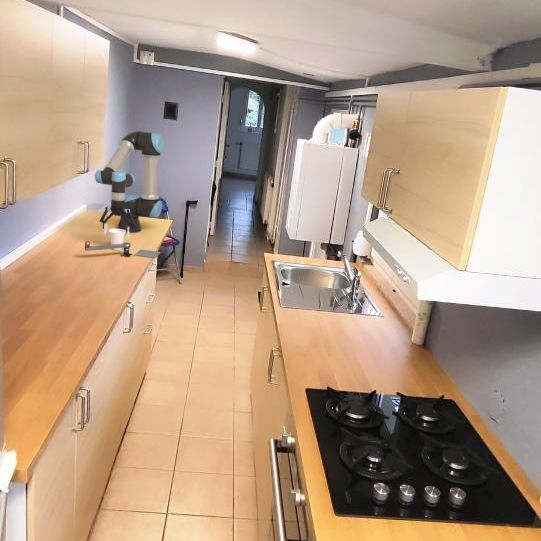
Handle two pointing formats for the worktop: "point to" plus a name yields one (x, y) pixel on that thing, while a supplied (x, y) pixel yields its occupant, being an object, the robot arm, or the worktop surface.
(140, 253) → the mat
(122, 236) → the cup
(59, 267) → the worktop surface
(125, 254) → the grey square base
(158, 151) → the robot arm
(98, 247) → the lever
